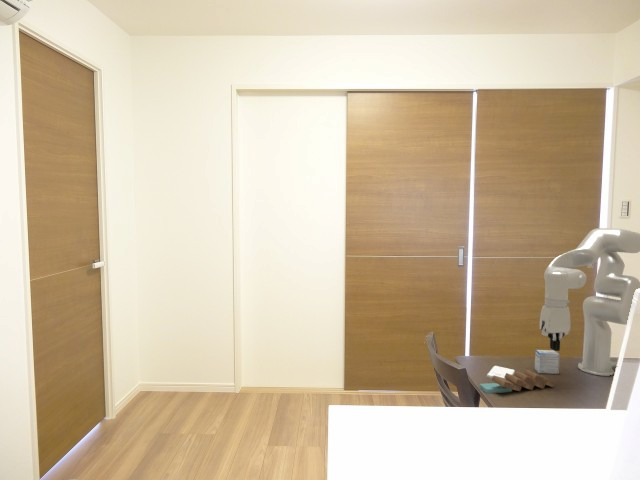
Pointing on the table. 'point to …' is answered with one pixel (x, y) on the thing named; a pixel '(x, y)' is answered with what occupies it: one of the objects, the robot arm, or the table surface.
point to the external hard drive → (500, 372)
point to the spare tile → (494, 388)
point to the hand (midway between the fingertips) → (554, 349)
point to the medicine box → (547, 361)
